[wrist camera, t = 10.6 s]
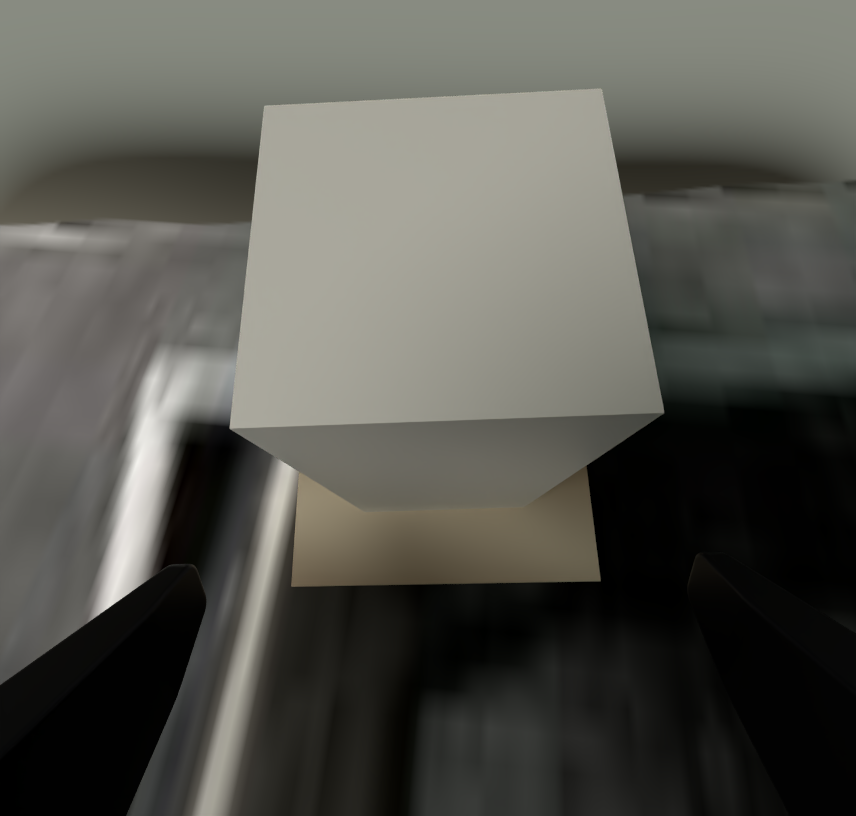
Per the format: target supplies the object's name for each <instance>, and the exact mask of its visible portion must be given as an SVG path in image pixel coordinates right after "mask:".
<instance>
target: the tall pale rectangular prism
mask: <svg viewBox="0 0 856 816" xmlns="http://www.w3.org/2000/svg"><path fill="white" fill-rule="evenodd" d="M662 414H664V408H663V402H662V397H661V392H660V387H659V382H658V377H657V371H656V366H655V361H654V356H653V351H652V346H651V341H650V335H649V330H648V325H647V320H646V315H645V310H644V304H643V299H642V294H641V289H640V284H639V279H638V273H637V268H636V263H635V258H634V253H633V248H632V243H631V237H630V232H629V227H628V222H627V217H626V212H625V206H624V201H623V196H622V191H621V186H620V181H619V175H618V170H617V165H616V160H615V155H614V150H613V144H612V139H611V135H610V129H609V124H608V119H607V114H606V108H605V103H604V99H603V93H602V89H584V90H565V91H545V92H524V93H505V94H486V95H467V96H446V97H427V98H409V99H408V98H407V99H389V100H369V101H349V102H330V103H311V104H290V105H270V106H264V114H263V123H262V132H261V141H260V150H259V160H258V170H257V178H256V188H255V198H254V206H253V216H252V225H251V234H250V244H249V253H248V262H247V271H246V281H245V290H244V299H243V309H242V318H241V327H240V337H239V346H238V355H237V365H236V374H235V383H234V393H233V402H232V411H231V421H230V429H231V430H233V431H234V432H236V433H238V434H239V435H241V436H242V437H244V438H246V439H247V440H249V441H250V442H252V443H254V444H255V445H257V446H259V447H260V448H262V449H263V450H265V451H267V452H268V453H270V454H271V455H273V456H275V457H276V458H278V459H280V460H281V461H283V462H284V463H286V464H288V465H289V466H291V467H293V468H294V469H296V470H297V471H299V472H301V473H302V474H304V475H305V476H307V477H309V478H310V479H312V480H314V481H315V482H317V483H318V484H320V485H322V486H323V487H325V488H326V489H328V490H330V491H331V492H333V493H335V494H336V495H338V496H339V497H341V498H343V499H344V500H346V501H347V502H349V503H351V504H352V505H354V506H356V507H357V508H359V509H360V510H362V511H364V512H389V511H420V510H451V509H483V508H514V507H525V506H527V505H528V504H530V503H531V502H533V501H534V500H536V499H537V498H539V497H540V496H542V495H543V494H545V493H546V492H548V491H549V490H551V489H552V488H554V487H555V486H557V485H558V484H559V483H561V482H562V481H564V480H565V479H567V478H568V477H570V476H571V475H573V474H574V473H576V472H577V471H579V470H580V469H582V468H583V467H585V466H586V465H588V464H589V463H591V462H592V461H594V460H595V459H597V458H598V457H600V456H601V455H603V454H604V453H606V452H607V451H609V450H610V449H612V448H613V447H615V446H616V445H618V444H619V443H621V442H622V441H623V440H625V439H626V438H628V437H629V436H631V435H632V434H634V433H635V432H637V431H638V430H640V429H641V428H643V427H644V426H646V425H647V424H649V423H650V422H652V421H653V420H655V419H656V418H658V417H659V416H661V415H662Z"/></svg>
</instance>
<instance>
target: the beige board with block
mask: <svg viewBox="0 0 856 816" xmlns="http://www.w3.org/2000/svg"><path fill="white" fill-rule="evenodd" d="M579 581H601V579H600V571H599V563H598V555H597V547H596V539H595V531H594V523H593V515H592V507H591V498H590V490H589V482H588V474H587V466H585V467H583V468H582V469H580V470H579V471H577V472H576V473H574V474H573V475H571V476H570V477H568V478H567V479H565V480H564V481H562V482H561V483H559V484H558V485H557V486H555V487H554V488H552V489H551V490H549V491H548V492H546V493H545V494H543V495H542V496H540V497H539V498H537V499H536V500H534V501H533V502H531V503H530V504H528V505H527V506H525V507H514V508H483V509H451V510H420V511H389V512H364V511H362V510H360V509H359V508H357V507H356V506H354V505H352V504H351V503H349V502H347V501H346V500H344V499H343V498H341V497H339V496H338V495H336V494H335V493H333V492H331V491H330V490H328V489H326V488H325V487H323V486H322V485H320V484H318V483H317V482H315V481H314V480H312V479H310V478H309V477H307V476H305V475H304V474H302V473H301V472H299V481H298V495H297V510H296V525H295V539H294V554H293V569H292V584H291V587H297V586H354V585H410V584H466V583H523V582H579Z"/></svg>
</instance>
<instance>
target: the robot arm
mask: <svg viewBox="0 0 856 816" xmlns="http://www.w3.org/2000/svg"><path fill="white" fill-rule="evenodd" d="M687 592H688V597H689V601H690V603H691V606H692V608H693V611H694V613H695V616H696V619H697V621H698V624H699V626H700V629H701V631H702V634H703V636H704V639H705V641H706V644H707V646H708V649H709V652H710V654H711V657H712V659H713V662H714V664H715V667H716V669H717V672H718V674H719V676H720V679H721V681H722V684H723V686H724V688H725V690H726V692H727V694H728V696H729V698H730V700H731V702H732V704H733V706H734V708H735V710H736V712H737V714H738V716H739V718H740V720H741V722H742V724H743V726H744V728H745V730H746V732H747V734H748V736H749V738H750V740H751V742H752V744H753V746H754V747H755V749H756V751H757V753H758V755H759V757H760V759H761V761H762V763H763V765H764V767H765V769H766V771H767V773H768V775H769V777H770V779H771V781H772V783H773V785H774V787H775V789H776V791H777V792H778V794H779V796H780V798H781V800H782V802H783V804H784V806H785V808H786V810H787V812H788V814H789V816H856V633H854V632H852V631H851V630H849V629H848V628H846V627H844V626H843V625H841V624H839V623H838V622H836V621H835V620H833V619H831V618H830V617H828V616H827V615H825V614H823V613H822V612H820V611H819V610H817V609H815V608H814V607H812V606H810V605H809V604H807V603H806V602H804V601H802V600H801V599H799V598H798V597H796V596H794V595H793V594H791V593H789V592H788V591H786V590H785V589H783V588H781V587H780V586H778V585H777V584H775V583H773V582H772V581H770V580H768V579H767V578H765V577H764V576H762V575H760V574H759V573H757V572H756V571H754V570H752V569H751V568H749V567H748V566H746V565H744V564H743V563H741V562H739V561H738V560H736V559H735V558H733V557H731V556H730V555H728V554H726V553H724V552H719V551H718V552H700V553H698V554H697V555H696V557H695V560H694V563H693V567H692V571H691V574H690V578H689V582H688V586H687ZM205 609H206V595H205V592H204V589H203V586H202V583H201V580H200V577H199V574H198V571H197V569H196V567H195V566H194V565H191V564H174V565H170V566H168V567H166V568H164V569H163V570H162V571H160V572H159V573H157V574H156V575H155V576H153V577H152V578H150V579H149V580H147V581H146V582H145V583H143V584H142V585H140V586H139V587H138V588H136V589H135V590H133V591H132V592H131V593H129V594H128V595H126V596H125V597H124V598H122V599H121V600H119V601H118V602H116V603H115V604H114V605H112V606H111V607H109V608H108V609H107V610H105V611H104V612H102V613H101V614H100V615H98V616H97V617H95V618H94V619H93V620H91V621H90V622H88V623H87V624H86V625H84V626H83V627H81V628H80V629H78V630H77V631H76V632H74V633H73V634H71V635H70V636H69V637H67V638H66V639H64V640H63V641H62V642H60V643H59V644H57V645H56V646H55V647H53V648H52V649H50V650H49V651H47V652H46V653H45V654H43V655H42V656H40V657H39V658H38V659H36V660H35V661H33V662H32V663H31V664H29V665H28V666H26V667H25V668H24V669H22V670H21V671H19V672H18V673H17V674H15V675H14V676H12V677H11V678H9V679H8V680H7V681H5V682H4V683H2V684H1V685H0V816H126V815H127V812H128V810H129V808H130V805H131V803H132V801H133V798H134V796H135V794H136V791H137V789H138V787H139V784H140V782H141V780H142V777H143V775H144V773H145V770H146V768H147V766H148V764H149V761H150V759H151V757H152V754H153V752H154V750H155V747H156V745H157V743H158V740H159V738H160V736H161V733H162V731H163V729H164V726H165V724H166V722H167V719H168V717H169V715H170V712H171V710H172V708H173V705H174V703H175V700H176V698H177V695H178V692H179V690H180V687H181V684H182V681H183V678H184V675H185V672H186V668H187V665H188V662H189V659H190V656H191V653H192V650H193V647H194V644H195V640H196V637H197V634H198V631H199V628H200V625H201V622H202V619H203V615H204V612H205Z"/></svg>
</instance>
